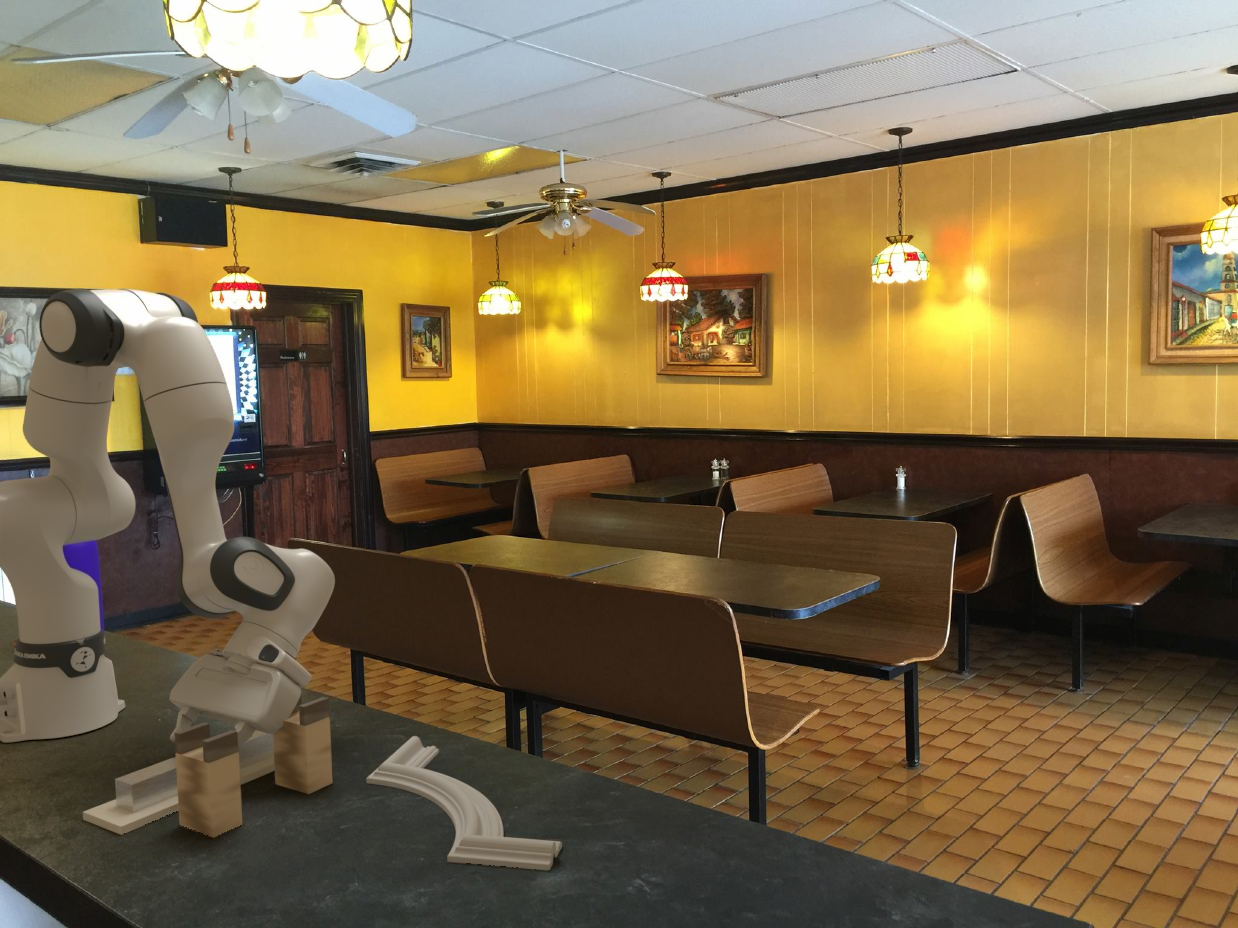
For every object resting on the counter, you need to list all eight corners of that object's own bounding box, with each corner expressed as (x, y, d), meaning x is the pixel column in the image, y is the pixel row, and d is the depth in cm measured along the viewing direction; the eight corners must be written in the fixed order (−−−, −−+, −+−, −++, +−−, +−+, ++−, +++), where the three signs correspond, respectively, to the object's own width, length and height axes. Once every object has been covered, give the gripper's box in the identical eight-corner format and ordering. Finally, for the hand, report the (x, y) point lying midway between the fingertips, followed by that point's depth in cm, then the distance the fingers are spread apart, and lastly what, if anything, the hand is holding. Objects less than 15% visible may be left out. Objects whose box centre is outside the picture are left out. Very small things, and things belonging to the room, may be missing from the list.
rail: (116, 806, 123) (114, 778, 122) (264, 748, 141) (263, 724, 141) (133, 812, 121) (131, 784, 120) (281, 752, 139) (279, 728, 139)
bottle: (72, 664, 188) (61, 507, 186) (49, 658, 193) (38, 505, 190) (114, 653, 195) (105, 502, 193) (91, 648, 200) (81, 500, 197)
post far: (275, 783, 131) (271, 699, 130) (299, 773, 135) (295, 690, 134) (308, 794, 128) (304, 706, 127) (332, 782, 131) (328, 698, 130)
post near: (179, 825, 119) (174, 732, 118) (208, 812, 123) (203, 722, 122) (213, 837, 116) (208, 742, 115) (242, 824, 119) (237, 731, 118)
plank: (83, 819, 121) (82, 811, 121) (272, 745, 145) (271, 738, 145) (121, 834, 117) (121, 826, 117) (309, 755, 141) (309, 748, 141)
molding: (579, 866, 109) (579, 841, 109) (479, 898, 103) (479, 871, 102) (428, 748, 145) (427, 729, 144) (346, 766, 138) (345, 746, 138)
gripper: (195, 635, 141) (134, 723, 133) (292, 655, 130) (232, 752, 123) (224, 658, 145) (166, 745, 138) (320, 679, 134) (264, 774, 127)
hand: (198, 748), depth 130 cm, fingers open, 8 cm apart
